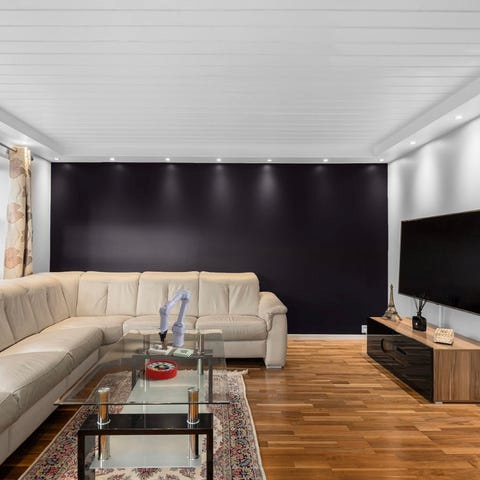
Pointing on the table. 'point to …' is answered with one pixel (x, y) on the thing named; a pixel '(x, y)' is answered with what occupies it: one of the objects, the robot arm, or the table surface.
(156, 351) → the socket block
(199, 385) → the table surface
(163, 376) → the toy clock
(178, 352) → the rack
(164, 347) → the peg
